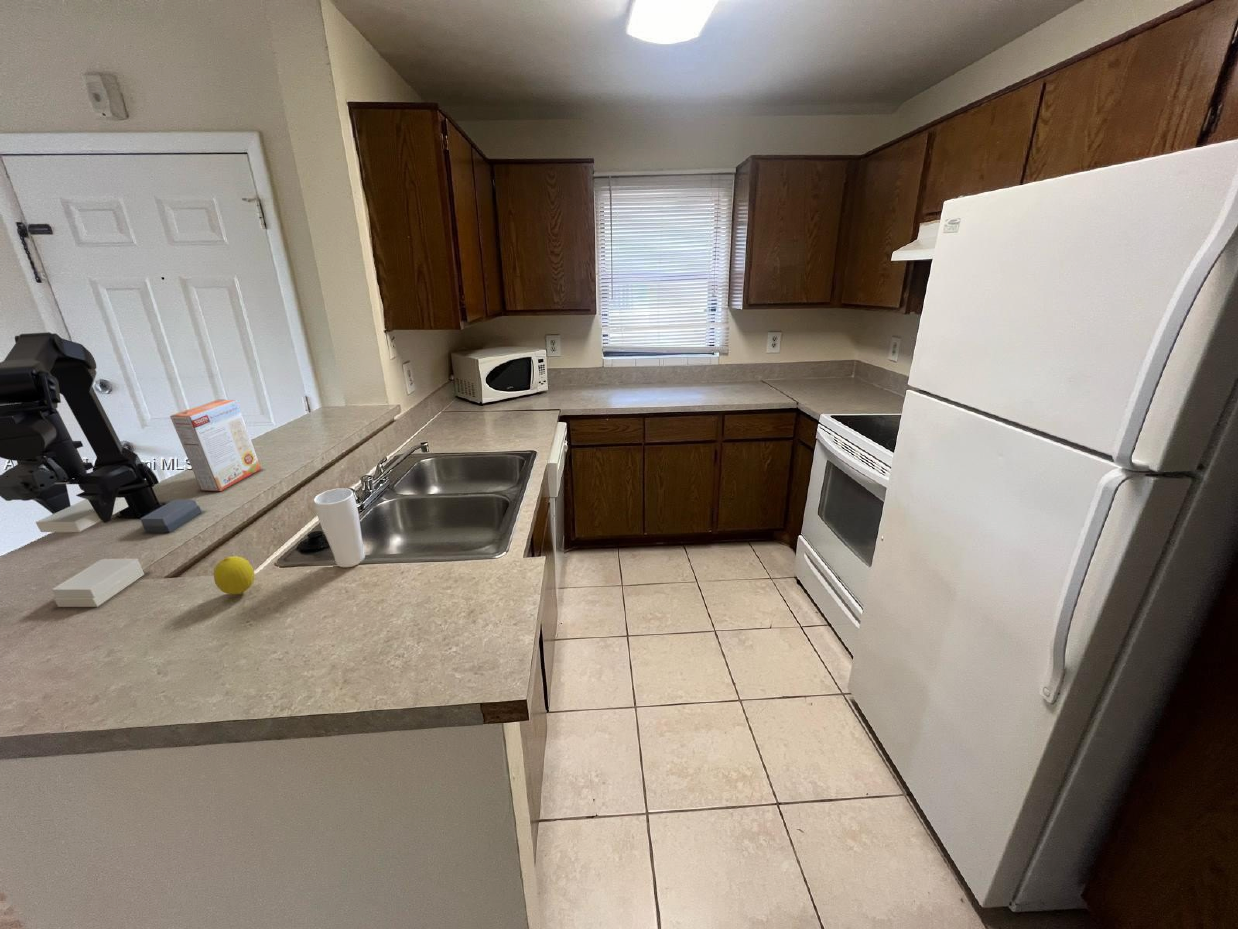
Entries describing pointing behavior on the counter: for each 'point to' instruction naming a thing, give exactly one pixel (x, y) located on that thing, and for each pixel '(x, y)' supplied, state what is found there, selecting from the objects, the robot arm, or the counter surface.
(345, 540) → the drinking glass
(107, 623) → the counter surface
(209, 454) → the cracker box
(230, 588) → the lemon
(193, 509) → the grey books
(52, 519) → the ivory book
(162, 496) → the counter surface
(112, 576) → the ivory books
